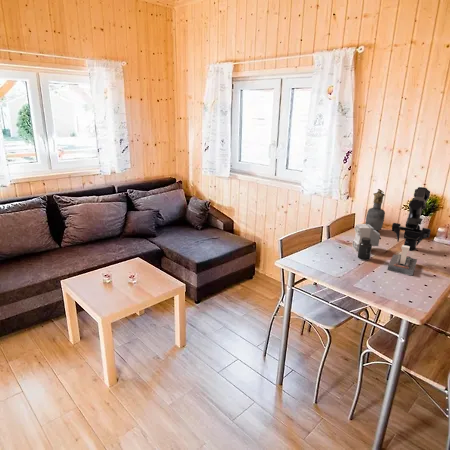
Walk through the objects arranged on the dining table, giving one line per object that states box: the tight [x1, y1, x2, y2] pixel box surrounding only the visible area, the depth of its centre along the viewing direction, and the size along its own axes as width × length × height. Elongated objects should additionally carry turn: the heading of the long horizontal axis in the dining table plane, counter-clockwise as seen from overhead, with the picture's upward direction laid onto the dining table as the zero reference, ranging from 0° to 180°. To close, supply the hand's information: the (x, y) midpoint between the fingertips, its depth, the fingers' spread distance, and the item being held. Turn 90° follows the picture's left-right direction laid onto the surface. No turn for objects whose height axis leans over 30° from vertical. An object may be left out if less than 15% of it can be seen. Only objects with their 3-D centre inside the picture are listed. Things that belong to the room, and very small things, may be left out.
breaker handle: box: [400, 244, 410, 265], centre depth 184 cm, size 3×4×10 cm
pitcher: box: [364, 188, 386, 233], centre depth 239 cm, size 11×19×30 cm, turn 150°
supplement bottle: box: [357, 237, 373, 261], centre depth 197 cm, size 7×7×12 cm
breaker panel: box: [387, 253, 418, 277], centre depth 188 cm, size 17×12×5 cm
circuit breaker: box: [351, 223, 382, 252], centre depth 209 cm, size 8×14×15 cm, turn 89°
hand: (407, 243), depth 188 cm, fingers open, 9 cm apart
